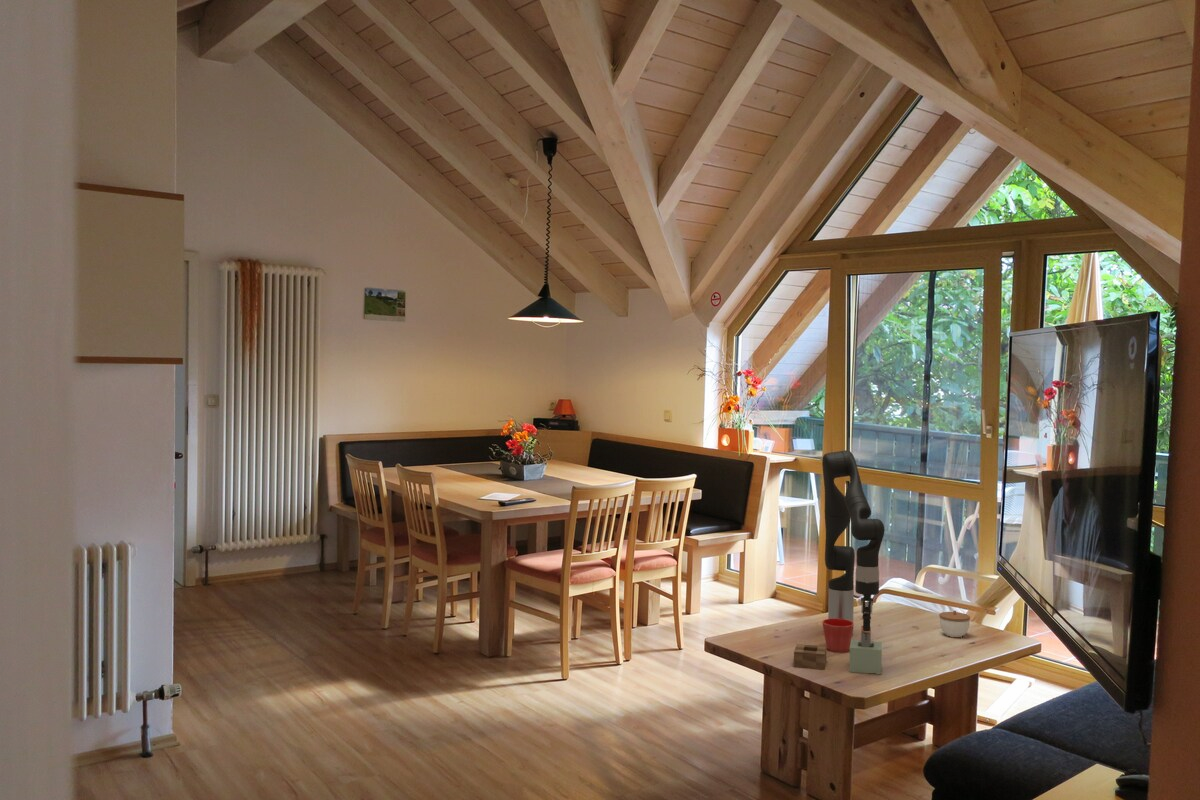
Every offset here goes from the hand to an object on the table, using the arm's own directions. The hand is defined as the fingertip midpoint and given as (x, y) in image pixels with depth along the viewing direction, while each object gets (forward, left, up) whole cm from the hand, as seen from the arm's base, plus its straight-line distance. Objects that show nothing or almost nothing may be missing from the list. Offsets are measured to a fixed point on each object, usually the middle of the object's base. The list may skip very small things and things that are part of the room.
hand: (866, 627), depth 314 cm
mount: (0, -18, -14) cm, 23 cm away
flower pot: (-21, -10, -14) cm, 27 cm away
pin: (0, 0, -14) cm, 14 cm away
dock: (0, 0, -14) cm, 14 cm away
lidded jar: (-53, +31, -14) cm, 63 cm away
